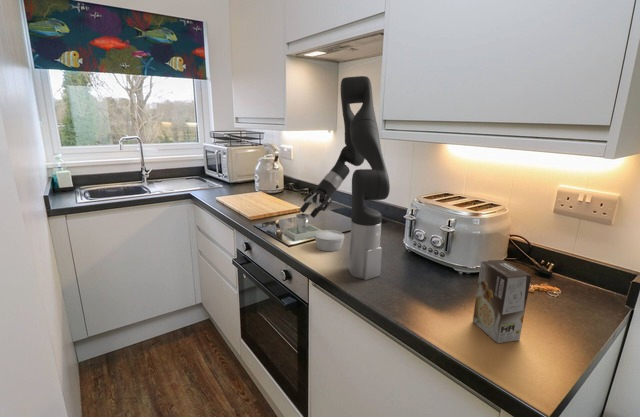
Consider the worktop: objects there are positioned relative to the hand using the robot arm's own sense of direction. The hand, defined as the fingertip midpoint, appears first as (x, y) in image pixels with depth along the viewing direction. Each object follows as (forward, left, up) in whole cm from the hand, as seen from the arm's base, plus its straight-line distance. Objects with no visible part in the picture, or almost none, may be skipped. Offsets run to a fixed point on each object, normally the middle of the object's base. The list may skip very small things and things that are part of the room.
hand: (306, 213), depth 142 cm
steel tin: (0, +2, -8) cm, 9 cm away
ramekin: (-17, 0, -9) cm, 19 cm away
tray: (0, +2, -9) cm, 9 cm away
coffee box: (-81, -4, -9) cm, 82 cm away
